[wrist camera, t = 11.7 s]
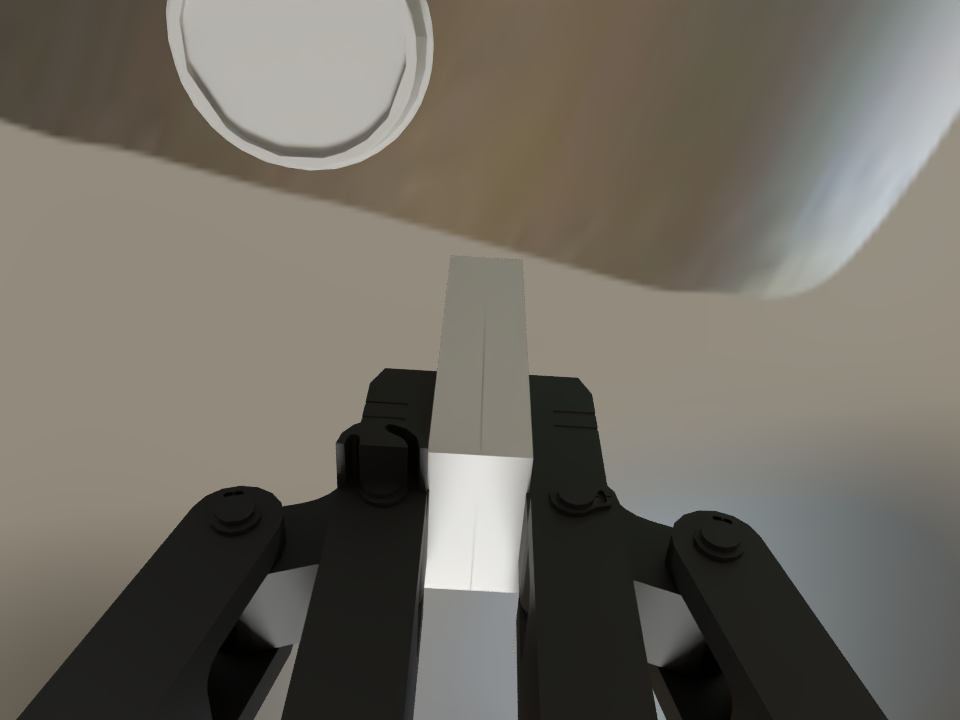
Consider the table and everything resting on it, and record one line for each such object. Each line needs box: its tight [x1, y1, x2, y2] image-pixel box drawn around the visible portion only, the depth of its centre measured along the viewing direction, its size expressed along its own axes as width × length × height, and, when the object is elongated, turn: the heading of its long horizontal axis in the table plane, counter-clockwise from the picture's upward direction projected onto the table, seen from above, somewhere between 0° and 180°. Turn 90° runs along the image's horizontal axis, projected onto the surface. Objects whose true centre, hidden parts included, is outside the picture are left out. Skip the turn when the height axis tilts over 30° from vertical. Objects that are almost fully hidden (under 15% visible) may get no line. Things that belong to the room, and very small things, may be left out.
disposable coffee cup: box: [166, 0, 434, 170], centre depth 34 cm, size 10×10×12 cm
